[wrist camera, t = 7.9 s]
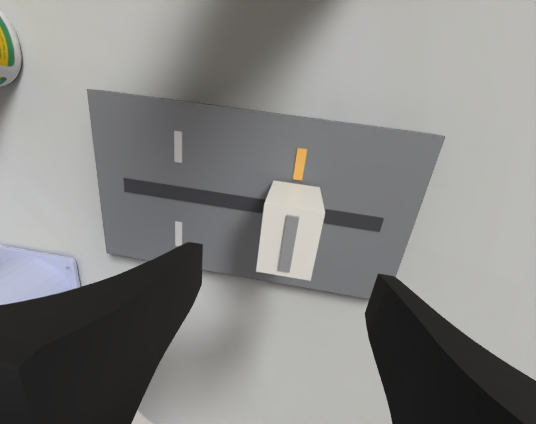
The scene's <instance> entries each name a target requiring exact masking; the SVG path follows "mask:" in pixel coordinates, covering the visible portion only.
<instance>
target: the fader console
mask: <svg viewBox="0 0 536 424" xmlns="http://www.w3.org/2000/svg"><path fill="white" fill-rule="evenodd" d="M87 94H88V102H89V110H90V119H91V127H92V135H93V144H94V152H95V160H96V169H97V177H98V185H99V194H100V202H101V210H102V219H103V227H104V235H105V244H106V252H107V253H109V254H115V255H120V256H126V257H132V258H137V259H143V260H149V261H150V260H153V259H155V258H157V257H159V256H161V255H163V254H165V253H167V252H169V251H171V250H172V249H174V248H176V247H178V246H180V245H183V244H185V243H187V242H193V243H199V244H203V256H202V270H206V271H212V272H218V273H224V274H229V275H235V276H241V277H247V278H252V279H258V280H264V281H270V282H275V283H281V284H287V285H292V286H298V287H304V288H310V289H315V290H321V291H327V292H333V293H338V294H344V295H350V296H356V297H361V298H367V299H370V296H371V293H372V290H373V287H374V284H375V281H376V278H377V275H378V274H384V275H390V276H394V277H396V274H397V271H398V269H399V266H400V263H401V260H402V257H403V255H404V252H405V249H406V246H407V243H408V240H409V238H410V235H411V232H412V229H413V226H414V223H415V221H416V218H417V215H418V212H419V209H420V207H421V204H422V201H423V198H424V195H425V192H426V190H427V187H428V184H429V181H430V178H431V176H432V173H433V170H434V167H435V164H436V161H437V159H438V156H439V153H440V150H441V147H442V145H443V142H444V139H445V136H441V135H436V134H430V133H422V132H415V131H407V130H399V129H392V128H384V127H377V126H369V125H361V124H354V123H346V122H339V121H331V120H323V119H316V118H308V117H301V116H293V115H285V114H278V113H270V112H263V111H255V110H247V109H240V108H232V107H225V106H217V105H209V104H202V103H194V102H187V101H179V100H171V99H164V98H156V97H149V96H141V95H133V94H126V93H118V92H111V91H103V90H91V89H87ZM273 180H274V181H281V182H288V183H295V184H301V185H308V186H315V187H320V190H321V195H322V200H323V204H324V209H325V216H324V221H323V226H322V230H321V235H320V240H319V244H318V249H317V254H316V258H315V263H314V268H313V272H312V277H311V281H308V280H303V279H297V278H291V277H285V276H279V275H274V274H268V273H262V272H256V267H257V259H258V251H259V243H260V235H261V226H262V218H263V210H264V203H265V200H266V198H267V195H268V193H269V190H270V188H271V185H272V183H273Z"/></svg>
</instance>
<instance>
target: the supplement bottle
mask: <svg viewBox="0 0 536 424" xmlns="http://www.w3.org/2000/svg"><path fill="white" fill-rule="evenodd" d="M21 61H22V58H21V50H20V44H19V40H18V37H17V35H16V32H15V30H14V28H13V26H12V25H11V23H10V22H9V20H8V19H7V18H6V16H5V15H4V14H3V13H2V12H1V11H0V87H1V86H5V85H7V84H9V83H11V82H12V81H13V80H14V79H15V78H16V77H17V75H18V73H19V71H20V68H21Z"/></svg>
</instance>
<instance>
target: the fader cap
mask: <svg viewBox="0 0 536 424" xmlns="http://www.w3.org/2000/svg"><path fill="white" fill-rule="evenodd" d="M324 216H325V209H324V204H323V200H322V195H321V190H320V187H315V186H308V185H301V184H295V183H288V182H281V181H274V180H273V183H272V185H271V188H270V190H269V193H268V195H267V198H266V200H265V203H264V210H263V218H262V226H261V235H260V243H259V251H258V259H257V267H256V272H262V273H268V274H274V275H279V276H285V277H291V278H297V279H303V280H308V281H311V277H312V272H313V268H314V263H315V258H316V254H317V249H318V244H319V240H320V235H321V230H322V226H323V221H324Z"/></svg>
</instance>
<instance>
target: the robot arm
mask: <svg viewBox="0 0 536 424" xmlns="http://www.w3.org/2000/svg"><path fill="white" fill-rule="evenodd" d="M202 256H203V244H199V243H193V242H187V243H185V244H183V245H180V246H178V247H176V248H174V249H172V250H171V251H169V252H167V253H165V254H163V255H161V256H159V257H157V258H155V259H153V260H150V261H148V262H146V263H144V264H142V265H139V266H137V267H135V268H133V269H130V270H128V271H126V272H123V273H121V274H118V275H116V276H113V277H110V278H107V279H104V280H102V281H99V282H96V283H93V284H89V285H86V286H82V287H80V282H79V276H78V270H77V264H76V261H75V260H74V259H73V258H71V257H66V256H60V255H55V254H49V253H43V252H38V251H32V250H26V249H21V248H15V247H10V246H4V245H0V424H131V423H132V421H133V418H134V416H135V414H136V412H137V409H138V407H139V405H140V403H141V401H142V398H143V396H144V394H145V392H146V390H147V387H148V385H149V383H150V381H151V379H152V377H153V375H154V373H155V370H156V368H157V366H158V364H159V362H160V360H161V359H162V357H163V355H164V353H165V351H166V350H167V348H168V346H169V345H170V343H171V341H172V340H173V338H174V336H175V335H176V333H177V331H178V330H179V328H180V326H181V325H182V323H183V321H184V319H185V318H186V316H187V314H188V313H189V311H190V309H191V307H192V306H193V304H194V301H195V299H196V297H197V294H198V292H199V290H200V287H201V285H202ZM365 318H366V325H367V331H368V337H369V341H370V344H371V348H372V351H373V354H374V358H375V361H376V364H377V368H378V371H379V374H380V377H381V381H382V384H383V387H384V391H385V394H386V397H387V401H388V405H389V409H390V413H391V418H392V423H393V424H536V381H535V380H534V379H532V378H530V377H529V376H527V375H525V374H524V373H522V372H520V371H519V370H517V369H515V368H514V367H512V366H511V365H509V364H507V363H506V362H504V361H503V360H501V359H500V358H498V357H497V356H495V355H494V354H492V353H491V352H489V351H488V350H486V349H485V348H483V347H482V346H481V345H479V344H478V343H476V342H475V341H473V340H472V339H471V338H469V337H468V336H466V335H465V334H464V333H462V332H461V331H460V330H459V329H457V328H456V327H455V326H453V325H452V324H451V323H450V322H448V321H447V320H446V319H445V318H443V317H442V316H441V315H440V314H438V313H437V312H436V311H435V310H434V309H432V308H431V307H430V306H429V305H428V304H427V303H425V302H424V301H423V300H422V299H421V298H420V297H418V296H417V295H416V294H415V293H414V292H413V291H411V290H410V289H409V288H408V287H407V286H406V285H404V284H403V283H402V282H401V281H400V280H398V279H397V278H396V277H394V276H390V275H384V274H378V275H377V278H376V281H375V284H374V287H373V290H372V293H371V296H370V299H369V302H368V305H367V309H366V312H365Z"/></svg>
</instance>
